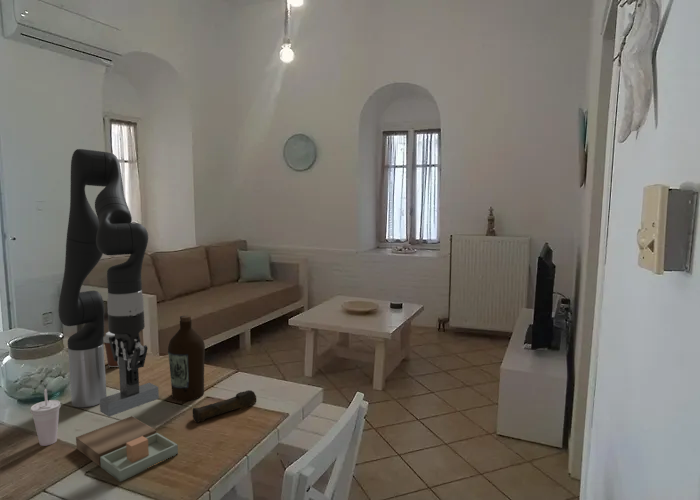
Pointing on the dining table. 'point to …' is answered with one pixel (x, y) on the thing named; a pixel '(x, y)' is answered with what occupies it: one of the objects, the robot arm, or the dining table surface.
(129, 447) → the tile
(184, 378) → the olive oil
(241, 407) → the hand tool
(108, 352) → the coffee cup
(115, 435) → the brown slab
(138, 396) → the scraper
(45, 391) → the smoothie
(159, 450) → the box
